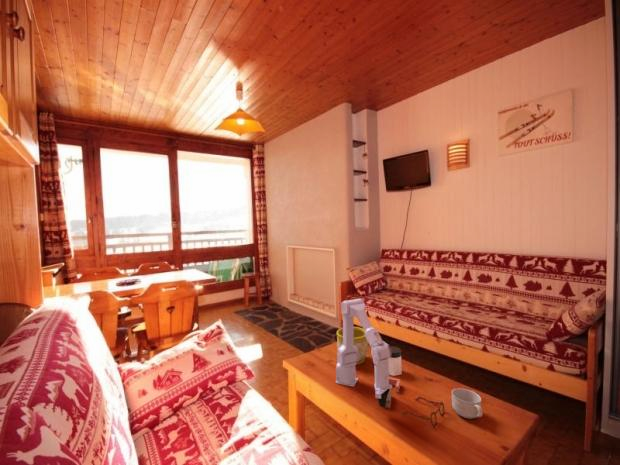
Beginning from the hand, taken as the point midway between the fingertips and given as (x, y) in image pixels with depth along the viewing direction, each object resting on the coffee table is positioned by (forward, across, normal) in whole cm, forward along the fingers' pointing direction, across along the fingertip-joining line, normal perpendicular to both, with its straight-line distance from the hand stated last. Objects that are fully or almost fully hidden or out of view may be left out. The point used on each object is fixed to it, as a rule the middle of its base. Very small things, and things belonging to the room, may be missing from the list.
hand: (382, 405), depth 122 cm
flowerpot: (+4, +42, +26) cm, 49 cm away
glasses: (+4, +8, -15) cm, 18 cm away
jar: (+4, +37, +2) cm, 37 cm away
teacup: (+4, +13, -32) cm, 35 cm away
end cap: (+4, +22, 0) cm, 22 cm away
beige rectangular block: (+4, +10, 0) cm, 10 cm away
